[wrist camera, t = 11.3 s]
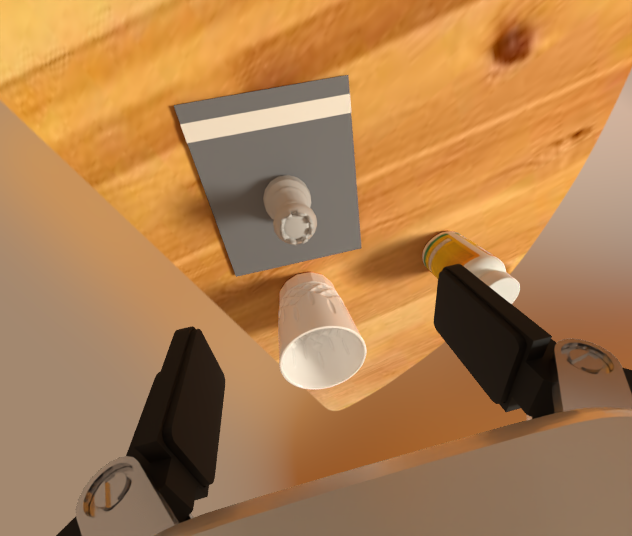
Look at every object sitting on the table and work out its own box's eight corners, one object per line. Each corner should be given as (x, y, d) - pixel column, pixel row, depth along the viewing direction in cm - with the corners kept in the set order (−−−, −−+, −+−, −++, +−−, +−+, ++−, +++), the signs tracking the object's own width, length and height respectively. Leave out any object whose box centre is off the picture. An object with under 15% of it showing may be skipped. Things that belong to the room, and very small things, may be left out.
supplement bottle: (467, 228, 32) (537, 268, 24) (455, 267, 35) (515, 316, 27) (425, 231, 32) (483, 274, 23) (416, 271, 34) (466, 322, 26)
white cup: (259, 300, 32) (260, 369, 24) (306, 254, 30) (325, 311, 22) (307, 330, 36) (323, 399, 27) (351, 290, 34) (383, 352, 25)
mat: (174, 105, 22) (173, 105, 21) (346, 75, 23) (348, 74, 22) (236, 274, 30) (236, 277, 30) (360, 246, 31) (361, 248, 31)
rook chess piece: (273, 226, 28) (279, 265, 21) (255, 183, 25) (254, 211, 18) (315, 211, 28) (334, 244, 21) (301, 166, 25) (317, 188, 18)
